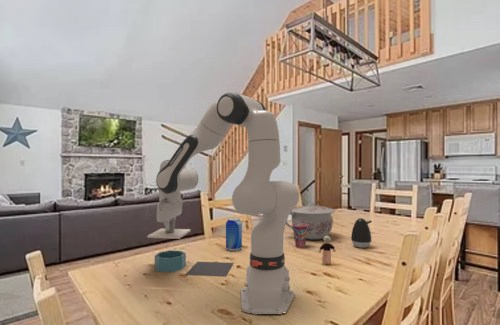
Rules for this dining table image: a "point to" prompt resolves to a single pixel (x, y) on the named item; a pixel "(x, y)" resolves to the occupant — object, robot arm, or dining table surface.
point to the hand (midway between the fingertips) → (170, 228)
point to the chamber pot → (313, 220)
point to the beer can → (233, 234)
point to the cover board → (171, 235)
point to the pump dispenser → (361, 233)
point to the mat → (210, 269)
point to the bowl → (170, 261)
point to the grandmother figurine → (326, 251)
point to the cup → (300, 234)
